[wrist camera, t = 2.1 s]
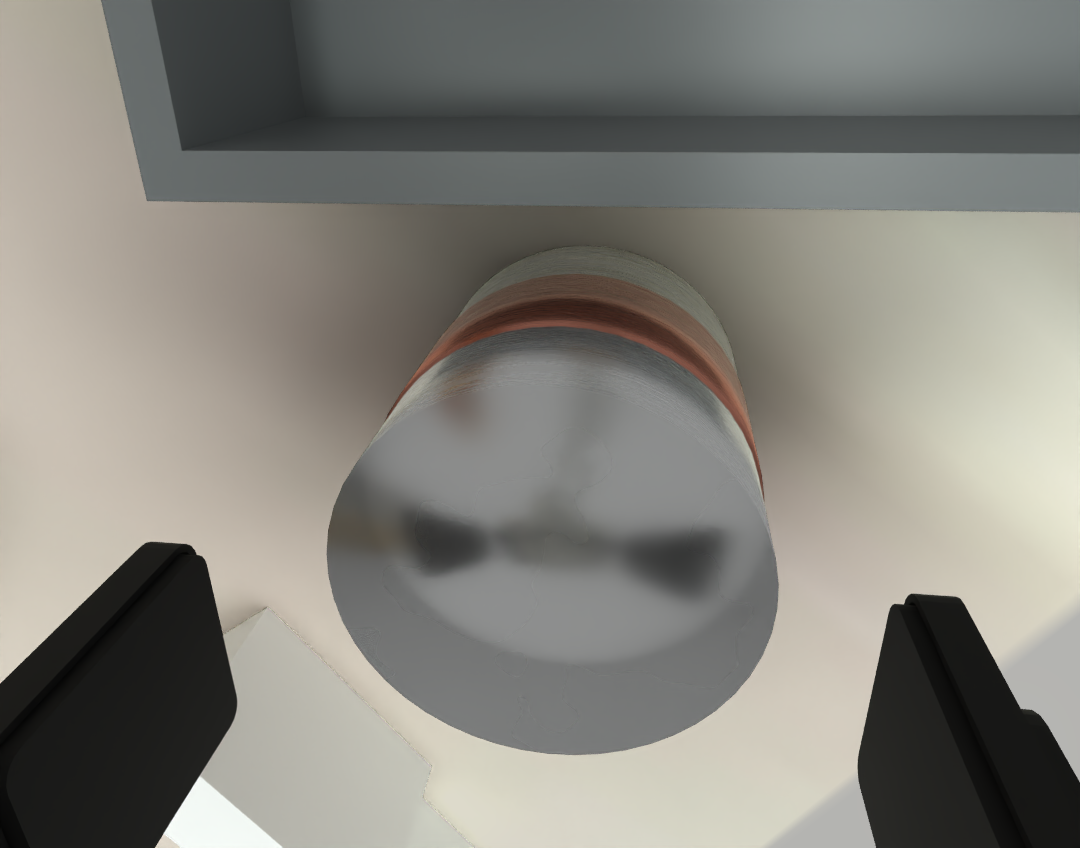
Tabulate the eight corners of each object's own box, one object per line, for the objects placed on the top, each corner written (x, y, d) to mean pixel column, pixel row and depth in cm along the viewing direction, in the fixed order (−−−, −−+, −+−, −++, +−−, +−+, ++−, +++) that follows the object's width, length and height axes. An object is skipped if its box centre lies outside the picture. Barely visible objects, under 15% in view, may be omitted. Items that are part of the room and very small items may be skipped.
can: (430, 240, 17) (291, 371, 10) (753, 245, 16) (812, 392, 10) (450, 508, 20) (352, 736, 13) (725, 525, 19) (756, 776, 12)
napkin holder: (140, 543, 22) (-16, 700, 17) (554, 583, 21) (518, 765, 16) (228, 892, 29) (135, 1079, 24) (545, 938, 27) (518, 1147, 22)
